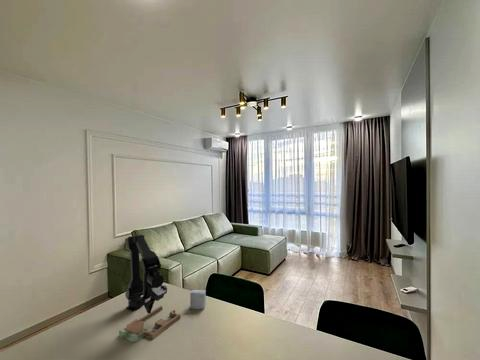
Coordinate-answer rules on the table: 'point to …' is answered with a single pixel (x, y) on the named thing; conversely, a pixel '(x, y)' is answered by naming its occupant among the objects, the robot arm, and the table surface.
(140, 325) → the block
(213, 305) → the table surface
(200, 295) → the medicine box
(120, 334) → the trap lane
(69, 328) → the table surface
